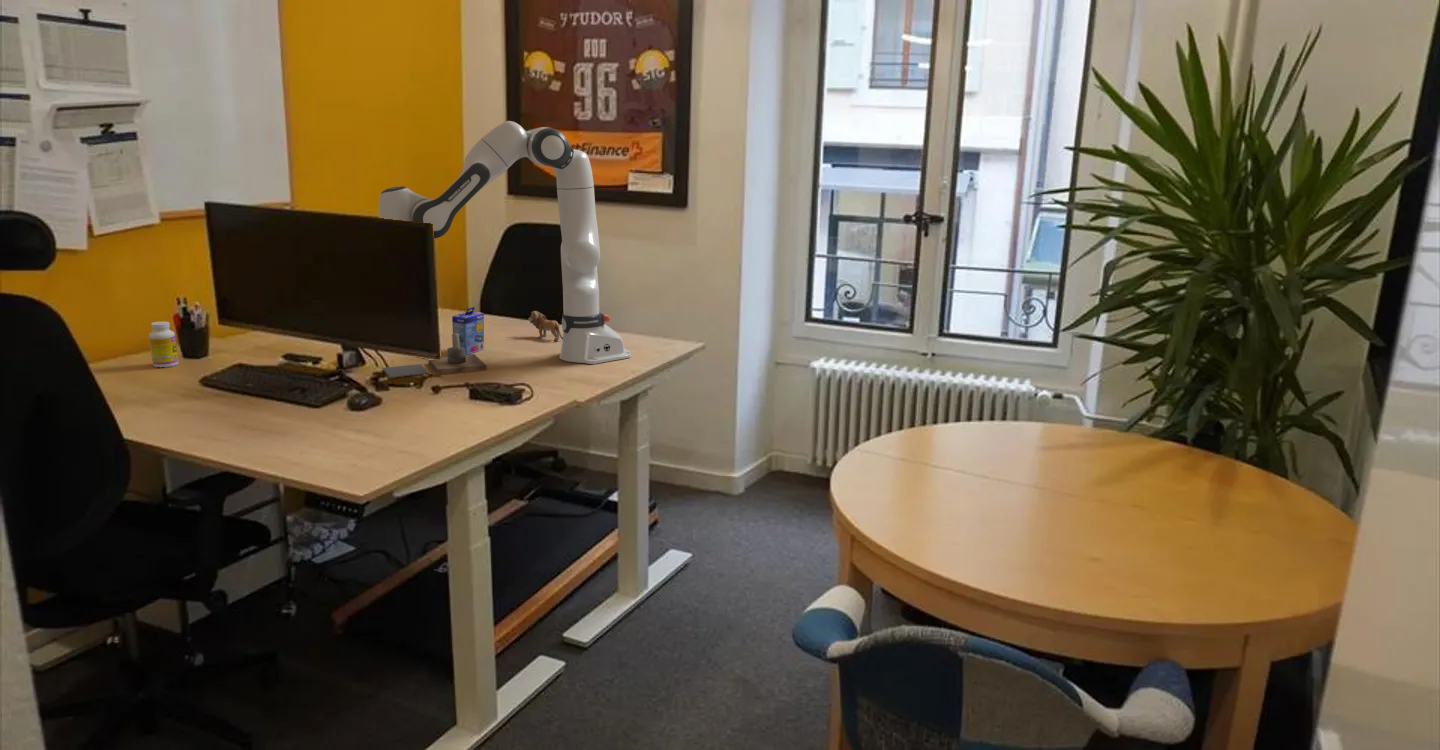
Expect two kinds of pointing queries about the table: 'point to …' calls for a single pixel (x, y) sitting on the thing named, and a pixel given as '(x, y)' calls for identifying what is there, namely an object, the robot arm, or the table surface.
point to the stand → (457, 360)
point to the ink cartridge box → (469, 330)
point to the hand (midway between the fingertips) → (400, 292)
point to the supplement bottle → (163, 345)
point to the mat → (405, 371)
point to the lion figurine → (545, 325)
